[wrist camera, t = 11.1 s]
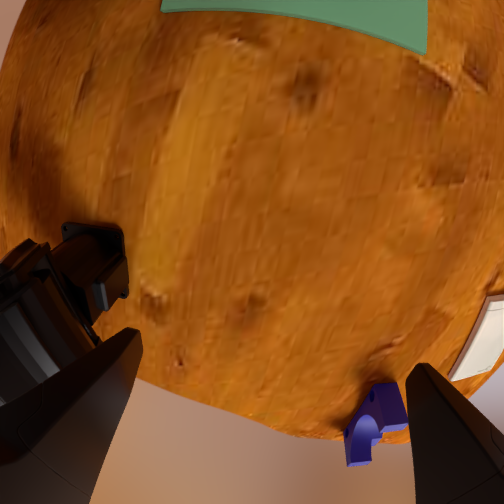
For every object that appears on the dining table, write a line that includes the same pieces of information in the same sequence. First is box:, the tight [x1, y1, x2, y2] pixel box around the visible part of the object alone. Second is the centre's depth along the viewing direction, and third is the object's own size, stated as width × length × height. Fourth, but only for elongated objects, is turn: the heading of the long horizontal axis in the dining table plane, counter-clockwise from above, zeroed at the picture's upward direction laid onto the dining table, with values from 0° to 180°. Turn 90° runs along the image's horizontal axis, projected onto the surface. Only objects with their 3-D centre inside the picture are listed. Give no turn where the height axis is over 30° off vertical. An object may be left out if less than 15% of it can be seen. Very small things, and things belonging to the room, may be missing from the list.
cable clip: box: [343, 383, 408, 467], centre depth 27 cm, size 12×4×6 cm, turn 176°
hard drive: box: [448, 294, 504, 381], centre depth 23 cm, size 2×8×12 cm
